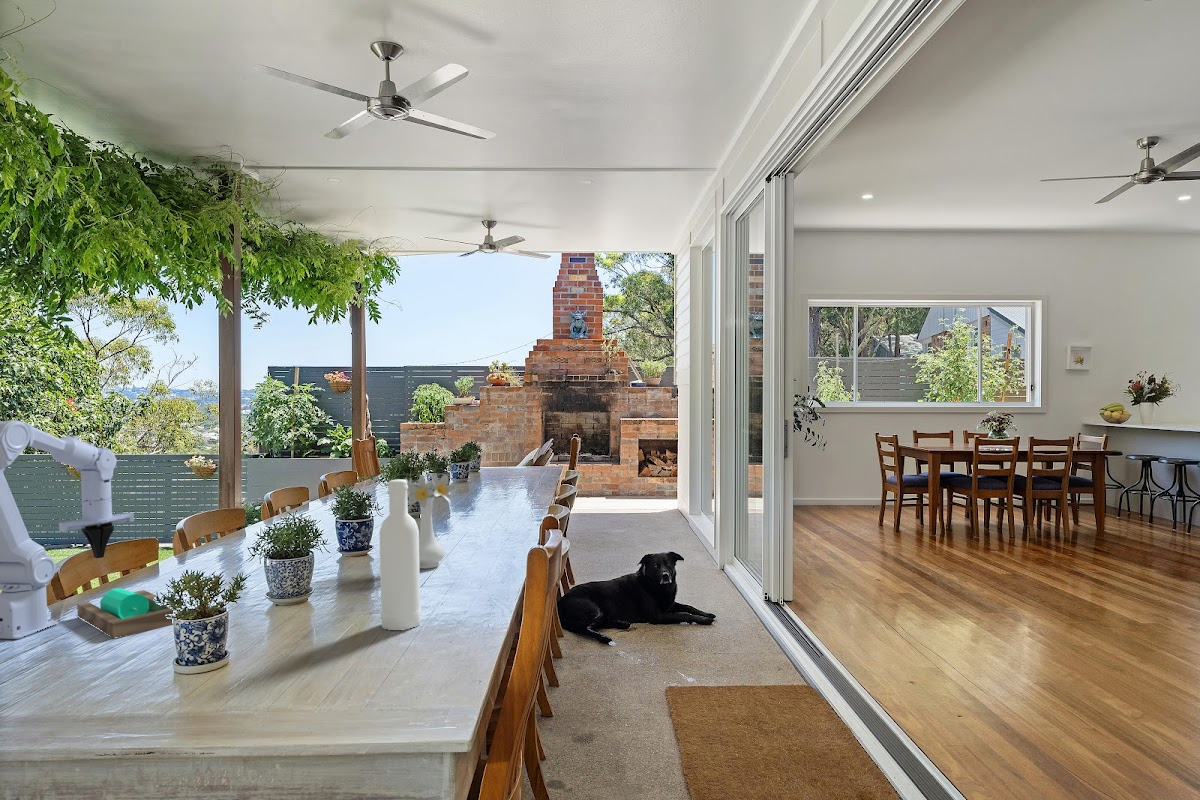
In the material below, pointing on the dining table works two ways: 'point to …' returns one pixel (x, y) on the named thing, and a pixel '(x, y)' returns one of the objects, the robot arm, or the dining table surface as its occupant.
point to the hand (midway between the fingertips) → (98, 557)
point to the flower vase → (428, 516)
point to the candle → (124, 603)
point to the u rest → (127, 625)
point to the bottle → (399, 563)
